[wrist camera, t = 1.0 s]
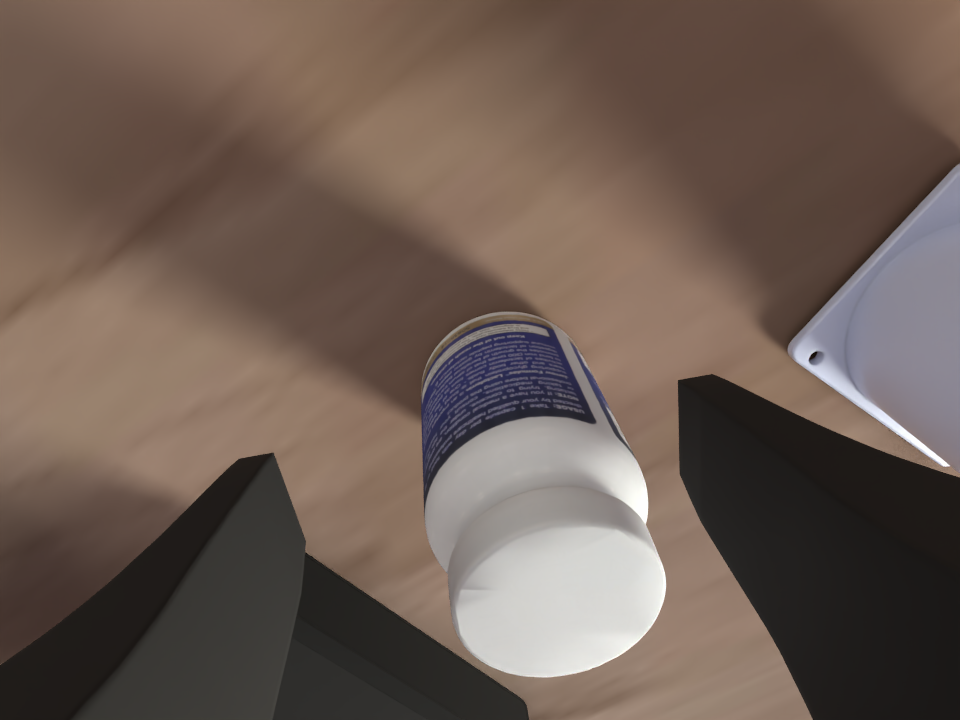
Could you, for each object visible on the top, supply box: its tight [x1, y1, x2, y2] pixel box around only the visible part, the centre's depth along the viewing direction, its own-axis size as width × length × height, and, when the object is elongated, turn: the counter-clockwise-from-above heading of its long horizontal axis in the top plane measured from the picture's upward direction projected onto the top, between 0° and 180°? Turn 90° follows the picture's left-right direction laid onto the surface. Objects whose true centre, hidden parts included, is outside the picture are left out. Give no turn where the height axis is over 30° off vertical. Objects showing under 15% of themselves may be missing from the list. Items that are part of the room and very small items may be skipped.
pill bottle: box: [421, 312, 666, 677], centre depth 18 cm, size 6×6×10 cm
